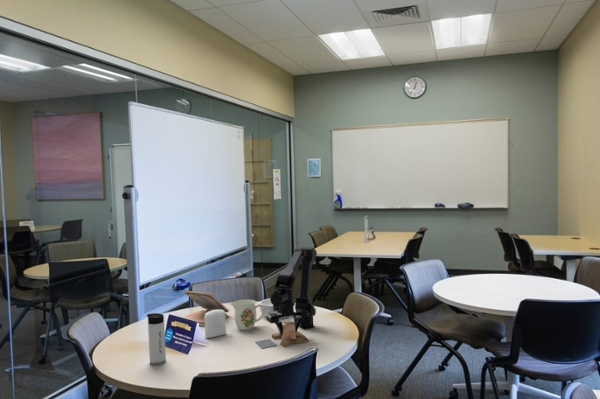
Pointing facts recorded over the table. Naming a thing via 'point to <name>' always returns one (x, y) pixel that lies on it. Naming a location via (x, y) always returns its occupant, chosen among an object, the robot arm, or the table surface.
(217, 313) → the white tombstone
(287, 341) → the brown u-shaped piece
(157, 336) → the travel mug
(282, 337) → the peach rounded canister
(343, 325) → the table surface
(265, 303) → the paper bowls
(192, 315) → the case
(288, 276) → the robot arm
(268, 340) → the mat
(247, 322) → the pitcher
